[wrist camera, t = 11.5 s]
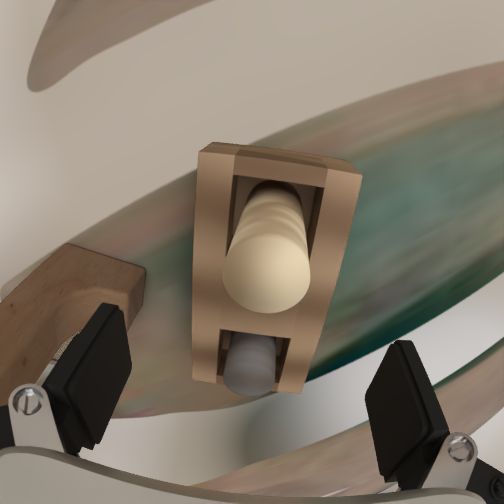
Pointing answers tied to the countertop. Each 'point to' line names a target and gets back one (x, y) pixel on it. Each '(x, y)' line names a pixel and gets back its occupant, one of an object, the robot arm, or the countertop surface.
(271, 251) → the birch dowel
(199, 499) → the robot arm
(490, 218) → the countertop surface
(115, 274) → the wooden block
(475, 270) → the countertop surface
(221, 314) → the walnut socket block
